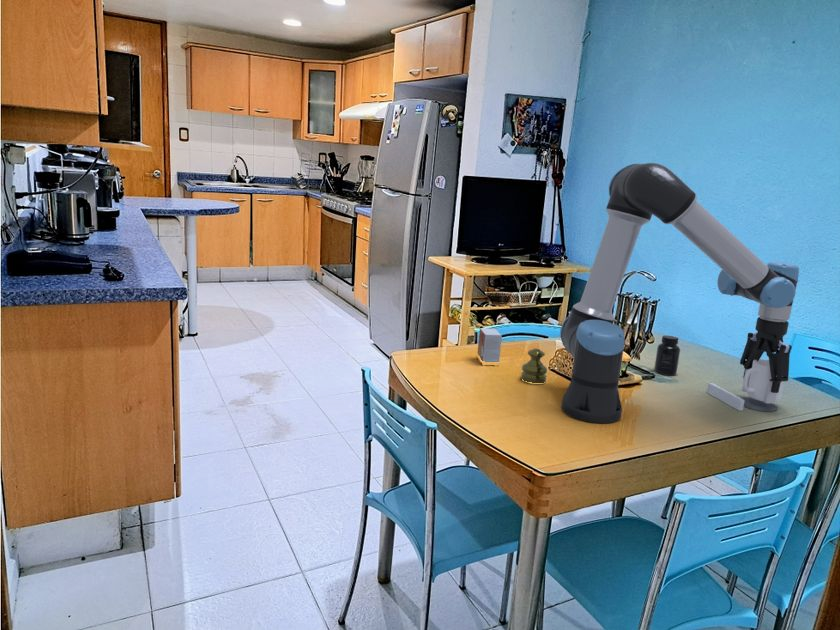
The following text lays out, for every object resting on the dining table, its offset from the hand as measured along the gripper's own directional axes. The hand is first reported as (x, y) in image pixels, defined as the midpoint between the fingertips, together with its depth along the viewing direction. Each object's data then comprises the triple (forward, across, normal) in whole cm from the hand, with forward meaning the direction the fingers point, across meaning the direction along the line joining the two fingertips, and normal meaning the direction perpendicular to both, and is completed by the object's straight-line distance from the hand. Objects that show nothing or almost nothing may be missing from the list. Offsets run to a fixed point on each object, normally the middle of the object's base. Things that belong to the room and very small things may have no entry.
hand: (757, 396), depth 165 cm
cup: (0, 0, 0) cm, 1 cm away
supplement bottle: (+3, +28, +11) cm, 30 cm away
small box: (+2, +38, +68) cm, 78 cm away
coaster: (+2, 0, 0) cm, 2 cm away
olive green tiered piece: (+3, +20, +59) cm, 62 cm away
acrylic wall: (+2, +3, +8) cm, 9 cm away
